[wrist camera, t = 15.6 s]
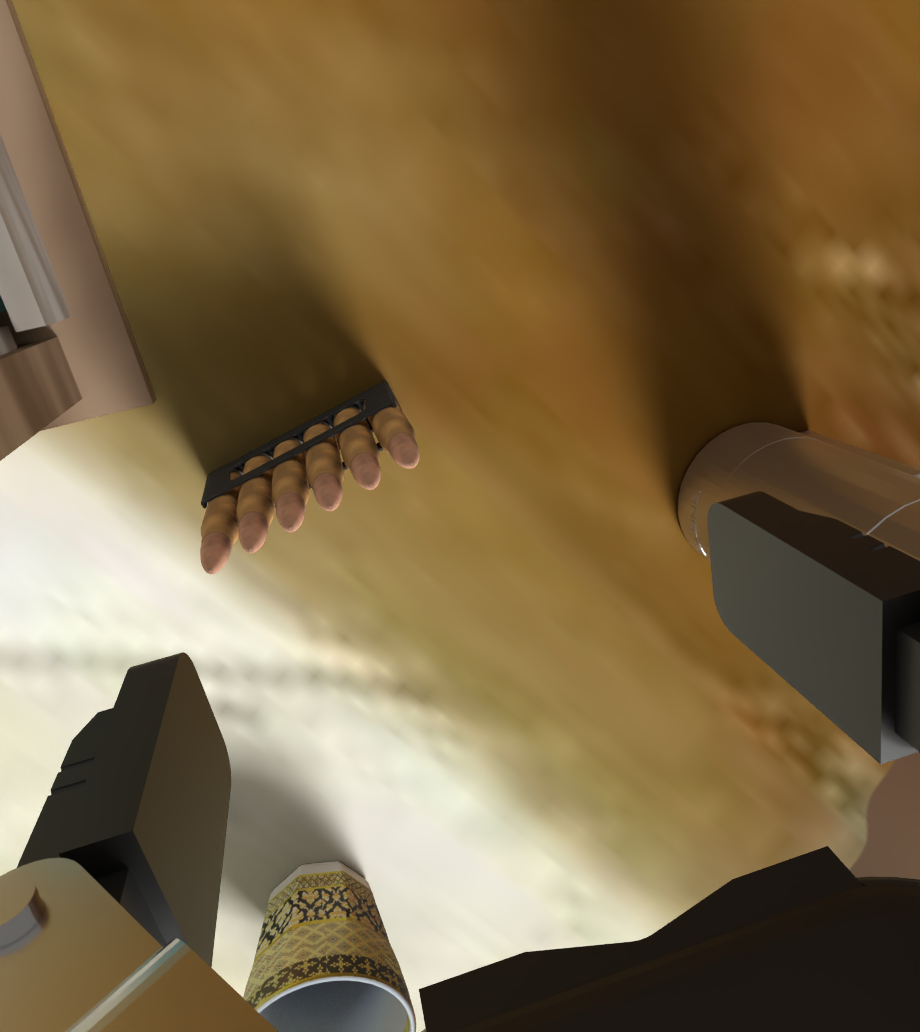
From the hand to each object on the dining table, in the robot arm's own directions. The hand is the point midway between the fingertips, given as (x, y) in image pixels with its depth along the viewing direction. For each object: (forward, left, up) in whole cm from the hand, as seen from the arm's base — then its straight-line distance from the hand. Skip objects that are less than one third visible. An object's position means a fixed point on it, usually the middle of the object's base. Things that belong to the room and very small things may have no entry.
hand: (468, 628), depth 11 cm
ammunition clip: (+3, +4, -30) cm, 31 cm away
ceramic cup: (+11, +36, -30) cm, 48 cm away
